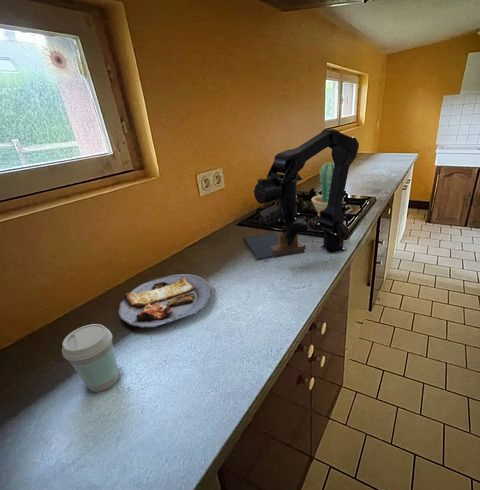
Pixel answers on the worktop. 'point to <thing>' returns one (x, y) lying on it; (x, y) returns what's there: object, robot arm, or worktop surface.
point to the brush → (287, 246)
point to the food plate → (164, 300)
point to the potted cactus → (324, 187)
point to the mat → (263, 245)
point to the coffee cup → (92, 356)
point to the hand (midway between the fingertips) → (288, 243)
